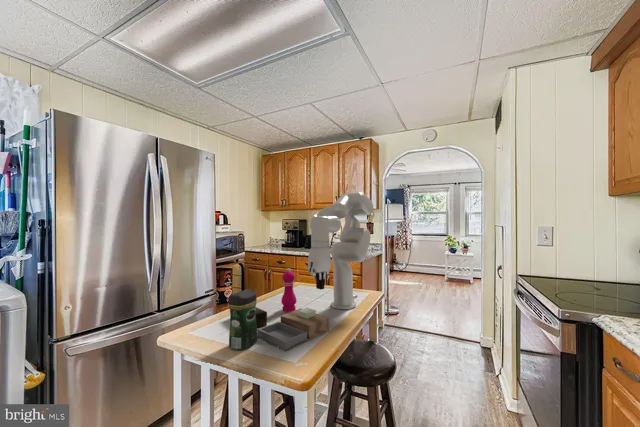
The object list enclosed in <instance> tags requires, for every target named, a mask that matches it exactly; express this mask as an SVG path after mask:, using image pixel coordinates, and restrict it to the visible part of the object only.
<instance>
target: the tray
mask: <svg viewBox="0 0 640 427" xmlns="http://www.w3.org/2000/svg"><path fill="white" fill-rule="evenodd" d="M257 336H258V340H259V339H260V340H262V341H264V342H266V343H268V344H270V345H272V346H274V347H276V348H278V349H280V350H282V351H284V352H287V351H289V350H292V349H293V348H295V347H297V346H299V345H301V344H303V343H306V342H307V341H308V339H307V332H305V331H302V330H300V329H297V328H294V327H292V326H289V325H287V324H284V323H281V321H277V322H274V323H271V324H268V325H267V326H265V327H262V328H258V329H257Z"/></svg>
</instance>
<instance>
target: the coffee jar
mask: <svg viewBox="0 0 640 427" xmlns="http://www.w3.org/2000/svg"><path fill="white" fill-rule="evenodd" d="M257 299H258V298H257V293H256V291H255V290H254V289H246V288H245V289H243V290H241V291H237V292H235V293H232V294H230V295H229V296H228V305H227V306H228V308H229V312H230V315H229V316H230V317H229V318H230V320H229V335H228V347H229V348H230V349H232V350H235V351H239V350H240V351H244V350H246V349H249V348H250V347H251V346H253V345H254V344H256V343H257V341H258V340H259V338H258V336H257V325H256V305H257V302H258V300H257Z"/></svg>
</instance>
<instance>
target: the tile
mask: <svg viewBox="0 0 640 427" xmlns="http://www.w3.org/2000/svg"><path fill="white" fill-rule="evenodd" d="M301 309H302V310H299V311H298V316H300V317H303V318H306V319H308V318H310V317H313V316H315V315H316V314H317V310H316V309H313V308H309V307H305V308H301Z"/></svg>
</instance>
